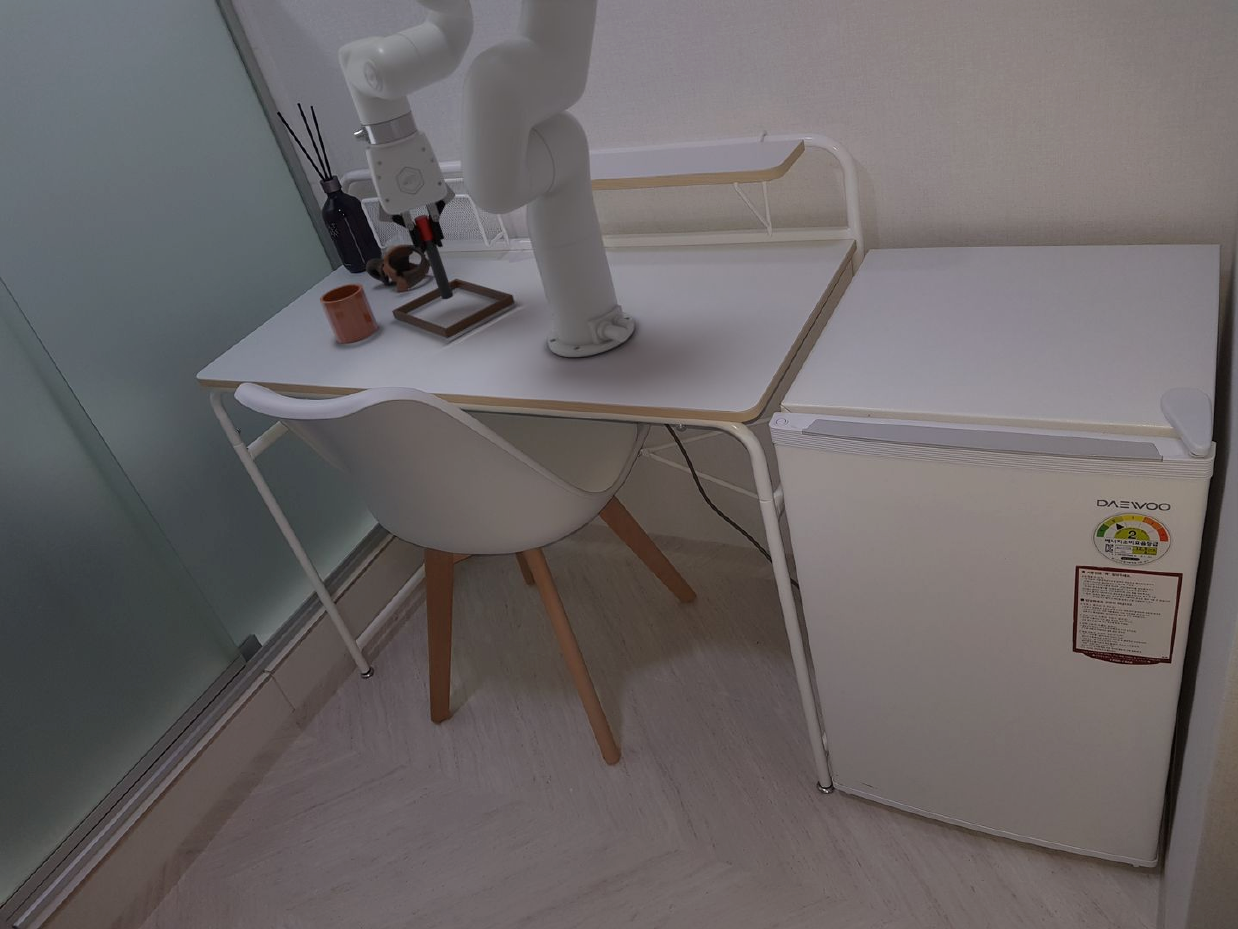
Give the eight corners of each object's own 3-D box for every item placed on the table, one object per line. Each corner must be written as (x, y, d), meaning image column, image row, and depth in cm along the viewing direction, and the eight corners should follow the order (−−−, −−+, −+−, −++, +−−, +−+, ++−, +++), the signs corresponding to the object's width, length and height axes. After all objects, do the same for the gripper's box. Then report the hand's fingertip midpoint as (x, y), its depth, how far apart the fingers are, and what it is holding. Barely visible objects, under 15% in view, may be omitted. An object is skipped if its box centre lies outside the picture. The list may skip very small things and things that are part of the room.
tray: (516, 306, 148) (512, 294, 147) (449, 342, 142) (444, 330, 141) (460, 289, 160) (456, 278, 159) (396, 322, 154) (391, 310, 153)
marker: (456, 295, 149) (429, 215, 142) (445, 300, 148) (418, 220, 141) (449, 293, 151) (422, 213, 144) (439, 298, 150) (411, 219, 143)
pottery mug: (437, 270, 173) (432, 239, 165) (433, 310, 168) (427, 279, 161) (372, 268, 172) (364, 237, 165) (366, 308, 167) (357, 277, 160)
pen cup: (387, 332, 151) (369, 287, 147) (350, 350, 148) (331, 305, 144) (368, 324, 156) (350, 280, 152) (331, 342, 153) (312, 298, 149)
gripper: (340, 150, 130) (386, 271, 140) (447, 117, 134) (484, 237, 144) (335, 141, 137) (378, 257, 147) (437, 110, 140) (473, 226, 150)
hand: (430, 246), depth 145 cm, fingers closed on marker, 2 cm apart
